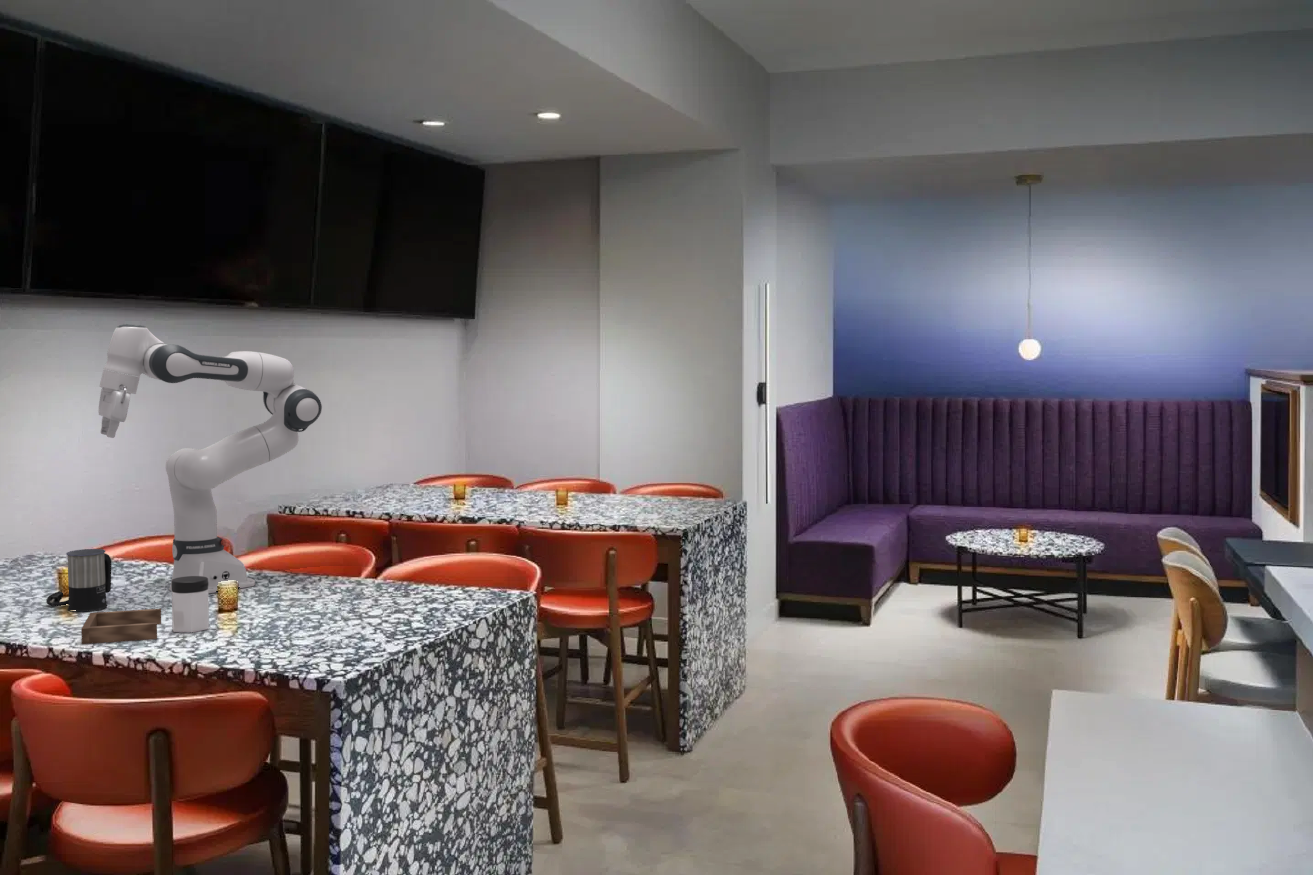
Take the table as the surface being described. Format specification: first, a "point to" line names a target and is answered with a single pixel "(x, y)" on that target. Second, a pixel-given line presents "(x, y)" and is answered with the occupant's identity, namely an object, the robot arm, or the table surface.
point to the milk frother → (86, 580)
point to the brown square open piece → (121, 626)
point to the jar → (190, 604)
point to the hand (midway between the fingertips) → (107, 435)
